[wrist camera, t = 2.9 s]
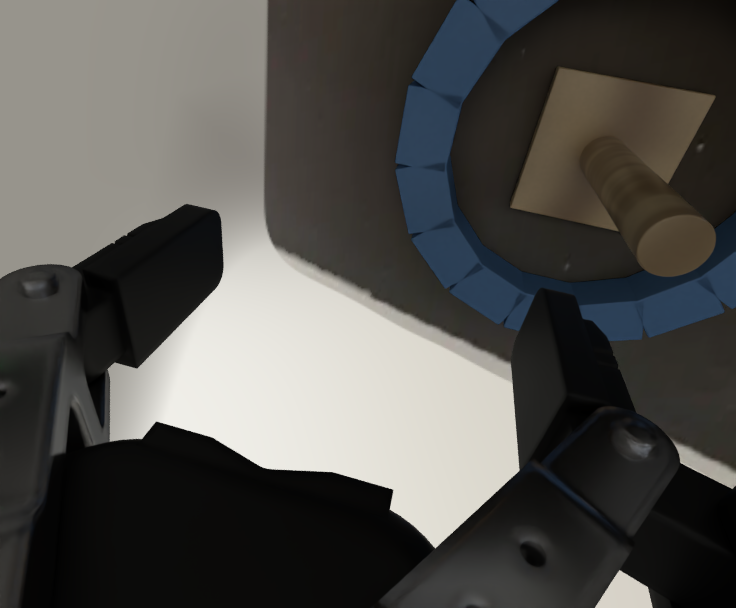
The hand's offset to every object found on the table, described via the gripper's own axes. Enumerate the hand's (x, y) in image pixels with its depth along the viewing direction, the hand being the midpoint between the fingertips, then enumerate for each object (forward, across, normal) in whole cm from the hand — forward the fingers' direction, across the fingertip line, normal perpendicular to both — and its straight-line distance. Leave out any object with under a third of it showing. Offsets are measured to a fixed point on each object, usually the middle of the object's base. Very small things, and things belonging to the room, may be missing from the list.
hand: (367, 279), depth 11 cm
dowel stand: (+19, -10, 0) cm, 22 cm away
